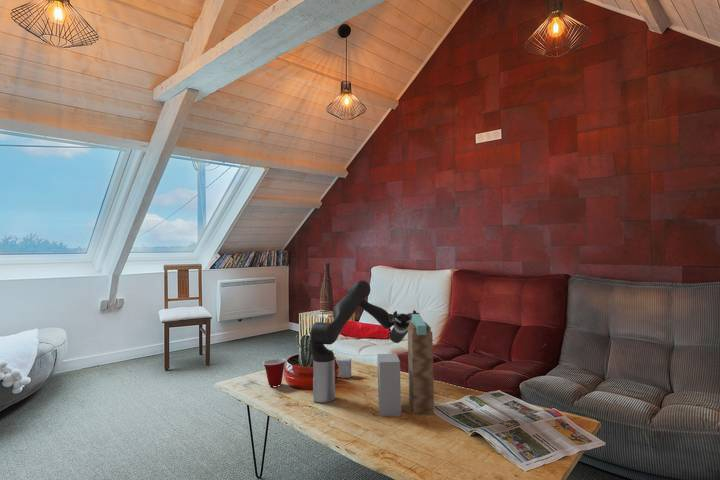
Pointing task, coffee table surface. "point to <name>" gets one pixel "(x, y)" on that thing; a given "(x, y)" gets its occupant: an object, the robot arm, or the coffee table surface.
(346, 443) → the coffee table surface
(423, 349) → the post
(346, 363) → the medicine box
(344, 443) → the coffee table surface
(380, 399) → the tall gray pillar
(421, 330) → the bar
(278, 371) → the plastic cup
